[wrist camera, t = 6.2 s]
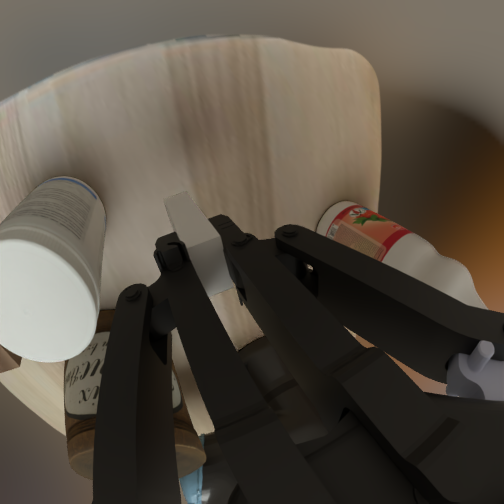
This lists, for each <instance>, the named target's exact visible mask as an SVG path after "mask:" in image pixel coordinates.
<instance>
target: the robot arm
mask: <svg viewBox="0 0 504 504" xmlns="http://www.w3.org/2000/svg"><path fill="white" fill-rule="evenodd" d="M163 200H164V203H165V206H166V209H167V212H168V216H169V219H170V222H171V225H172V228H173V231H174V232H173V233H170V234H168V235H165V236H162V237H160V238H158V239H157V241H156V243H155V245H156V250H155V251H154V258H155V260H156V263H157V265H158V268H159V270H160V272H161V276H160V277H159V279H158V280H157V281H156V282H155V283H153V284H152V285H151V286H149V287H147V286H146V285H145V284H141V283H140V284H134V285H131V286H129V287H127V288H126V289H124V290H123V291H122V292H121V294H120V295H119V298H118V301H117V305H116V309H115V313H114V317H113V321H112V325H111V330H110V334H109V339H108V343H107V348H106V354H105V359H104V364H103V370H102V376H101V382H100V389H99V396H98V404H97V413H96V423H95V435H94V451H93V502H92V504H181V494H180V487H179V480H180V484H181V487H182V491H183V494H184V496H185V499H186V501H187V502H188V504H504V313H500V312H496V311H491V310H487V309H482V308H478V307H473V306H469V305H466V304H464V303H462V302H460V301H459V300H457V299H455V298H453V297H451V296H449V295H447V294H445V293H443V292H441V291H439V290H437V289H435V288H434V287H432V286H430V285H428V284H426V283H424V282H422V281H420V280H418V279H416V278H414V277H411V276H409V275H407V274H405V273H403V272H401V271H399V270H397V269H395V268H393V267H391V266H389V265H387V264H385V263H382V262H380V261H378V260H376V259H374V258H372V257H370V256H367V255H365V254H363V253H361V252H359V251H357V250H354V249H352V248H350V247H348V246H345V245H343V244H341V243H339V242H336V241H334V240H332V239H330V238H327V237H325V236H323V235H321V234H318V233H316V232H314V231H311V230H309V229H307V228H304V227H302V226H299V225H291V224H289V225H284V226H282V227H279V228H278V229H277V230H276V231H275V233H274V234H275V238H271V239H266V240H258V239H257V238H256V237H255V236H254V235H252V234H248V233H243V232H242V231H241V230H240V229H239V228H238V226H237V225H235V223H234V222H233V221H232V220H231V219H230V218H229V217H228V216H225V215H222V214H220V215H218V216H215V217H212V218H209V219H207V218H206V216H205V215H204V214H203V212H202V211H201V210H200V208H199V207H198V206H197V204H196V203H195V202H194V200H193V199H192V198H191V196H190V195H189V194H188V192H187V191H185V192H183V193H180V194H177V195H174V196H171V197H168V198H166V199H163ZM308 265H310V266H312V267H313V270H311V269H309V268H308ZM232 280H233V282H234V283H235V285H236V289H237V293H238V297H239V300H240V304H241V306H242V305H243V303H244V304H245V306H246V307H247V309H248V310H249V312H250V313H251V315H252V316H253V318H254V319H255V321H256V322H257V324H258V325H259V327H260V328H261V330H262V331H263V333H264V334H265V336H266V337H263V338H261V339H258V340H256V341H254V342H252V343H251V344H249V345H247V346H246V347H244V348H243V349H242V350H241V351H239V352H237V351H236V349H235V347H234V345H233V343H232V341H231V340H230V338H229V336H228V334H227V332H226V330H225V328H224V326H223V324H222V322H221V321H220V319H219V317H218V315H217V313H216V311H215V309H214V307H213V305H212V303H211V301H210V299H209V297H211V296H213V295H216V294H218V293H221V292H223V291H226V290H228V289H230V288H233V287H234V286H233V283H232ZM242 301H243V302H242ZM344 326H345V327H346V328H348V329H349V330H351V331H352V332H354V333H356V334H357V335H359V336H361V337H362V338H364V339H365V340H367V341H368V342H370V343H372V344H373V345H374V346H376V347H370V348H366V347H364V346H362V345H361V344H360V343H359V342H358V341H357V340H356V339H355V338H354V337H353V336H352V335H351V333H350V332H349V331H348V330H347V329H346V328H345V327H344ZM176 327H177V330H178V333H179V336H180V339H181V342H182V345H183V348H184V351H185V353H186V356H187V359H188V362H189V365H190V367H191V370H192V373H193V375H194V378H195V381H196V383H197V386H198V388H199V391H200V393H201V396H202V398H203V401H204V403H205V406H206V408H207V411H208V413H209V415H210V418H211V420H212V422H213V425H214V428H215V431H214V432H212V433H208V434H201V436H198V437H199V439H200V441H201V443H202V446H203V449H204V451H205V454H206V461H205V463H204V464H203V465H202V466H201V467H200V468H199V469H197V470H196V471H194V472H192V473H191V474H189V475H186V476H184V477H182V478H179V479H178V470H177V460H176V449H175V436H174V420H173V399H172V334H171V331H172V330H173V329H174V328H176ZM377 347H378V348H377ZM385 352H386V353H387V354H389V355H391V356H392V357H394V358H395V359H397V360H398V361H400V362H402V363H403V364H405V365H406V366H408V367H410V368H411V369H413V370H414V371H416V372H418V373H420V374H422V375H423V376H425V377H428V378H430V379H432V380H435V381H438V382H441V383H445V384H447V387H446V393H447V395H440V394H434V393H428V392H423V391H422V390H421V389H420V388H419V387H418V386H417V385H416V384H415V383H414V382H413V380H411V379H410V377H409V376H408V375H406V373H405V372H404V371H403V370H402V369H401V368H400V367H399V366H398V365H397V364H396V363H395V362H394V361H393V360H392V359H391V358H390V357H389V356H388V355H387V354H386V353H385ZM457 396H459V397H457Z"/></svg>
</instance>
